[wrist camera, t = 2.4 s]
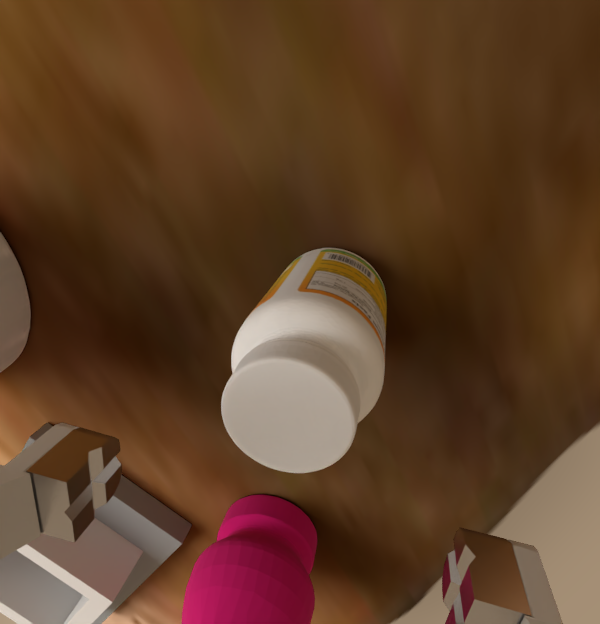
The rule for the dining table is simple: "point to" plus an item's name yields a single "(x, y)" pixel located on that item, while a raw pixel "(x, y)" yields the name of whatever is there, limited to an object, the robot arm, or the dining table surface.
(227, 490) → the dining table surface
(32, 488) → the robot arm
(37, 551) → the docking board
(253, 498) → the pepper mill
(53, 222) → the dining table surface
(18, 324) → the utensil holder
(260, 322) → the supplement bottle
